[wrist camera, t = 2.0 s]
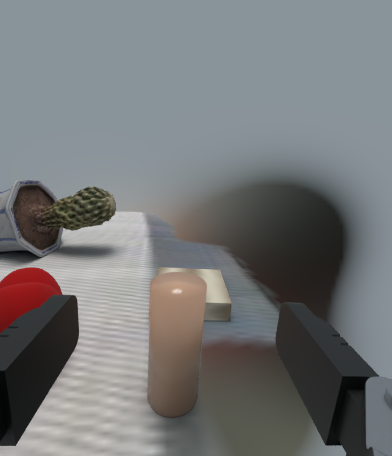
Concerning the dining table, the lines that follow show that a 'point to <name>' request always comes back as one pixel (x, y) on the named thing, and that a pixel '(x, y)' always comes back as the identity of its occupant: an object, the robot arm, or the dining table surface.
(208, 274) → the base slab
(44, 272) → the red heart
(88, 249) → the dining table surface
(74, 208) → the potted plant
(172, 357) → the tall pink cylinder
